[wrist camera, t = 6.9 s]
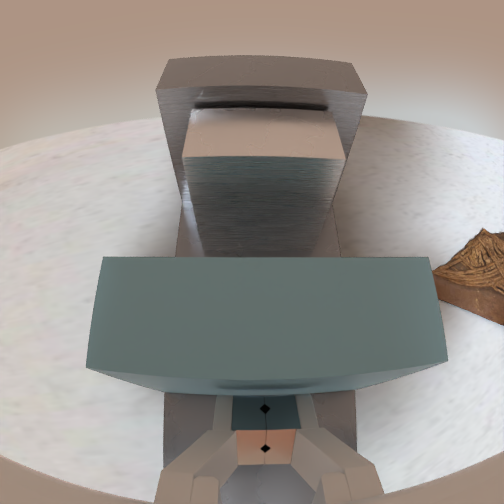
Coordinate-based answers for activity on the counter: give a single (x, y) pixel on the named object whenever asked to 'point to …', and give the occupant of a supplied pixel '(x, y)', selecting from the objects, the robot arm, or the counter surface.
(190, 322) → the slide jaw
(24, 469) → the robot arm
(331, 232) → the vise bed
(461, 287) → the wooden fragment
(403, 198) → the counter surface
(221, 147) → the steel block
